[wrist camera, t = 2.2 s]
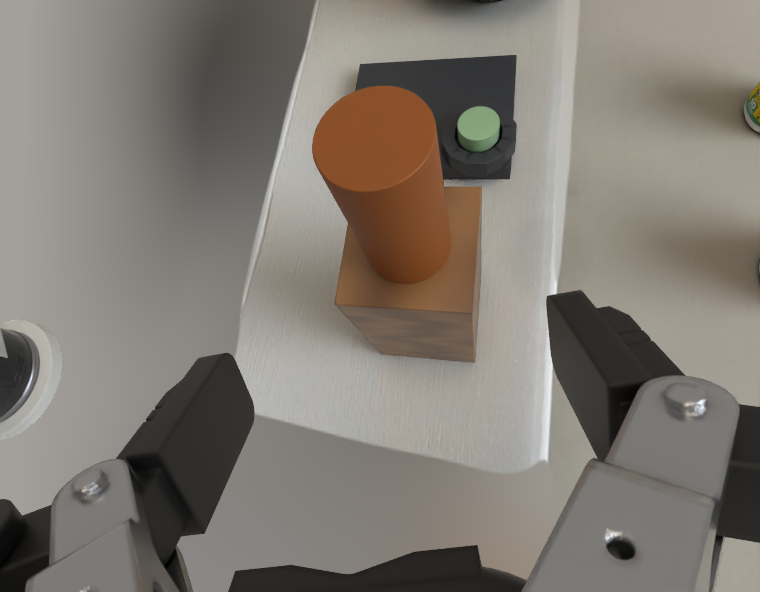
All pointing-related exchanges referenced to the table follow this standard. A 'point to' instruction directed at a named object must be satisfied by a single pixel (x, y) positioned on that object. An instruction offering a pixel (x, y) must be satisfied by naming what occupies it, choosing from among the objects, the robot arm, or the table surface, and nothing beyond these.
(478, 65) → the scale
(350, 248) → the oak stand
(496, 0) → the planter
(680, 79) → the table surface
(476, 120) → the button
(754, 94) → the supplement bottle
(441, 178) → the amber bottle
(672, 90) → the table surface
